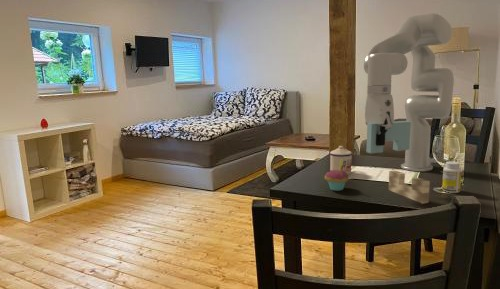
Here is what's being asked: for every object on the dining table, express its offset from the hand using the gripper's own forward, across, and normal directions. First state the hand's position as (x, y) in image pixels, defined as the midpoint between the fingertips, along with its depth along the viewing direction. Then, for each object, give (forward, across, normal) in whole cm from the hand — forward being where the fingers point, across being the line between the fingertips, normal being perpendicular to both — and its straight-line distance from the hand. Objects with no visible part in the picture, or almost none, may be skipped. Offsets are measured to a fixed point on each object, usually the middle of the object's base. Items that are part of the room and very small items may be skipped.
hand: (377, 144), depth 127 cm
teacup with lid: (+17, +28, -4) cm, 34 cm away
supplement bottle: (+17, -9, -24) cm, 31 cm away
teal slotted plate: (+3, 0, -4) cm, 5 cm away
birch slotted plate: (+17, -8, -7) cm, 20 cm away
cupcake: (+17, +9, +10) cm, 22 cm away
